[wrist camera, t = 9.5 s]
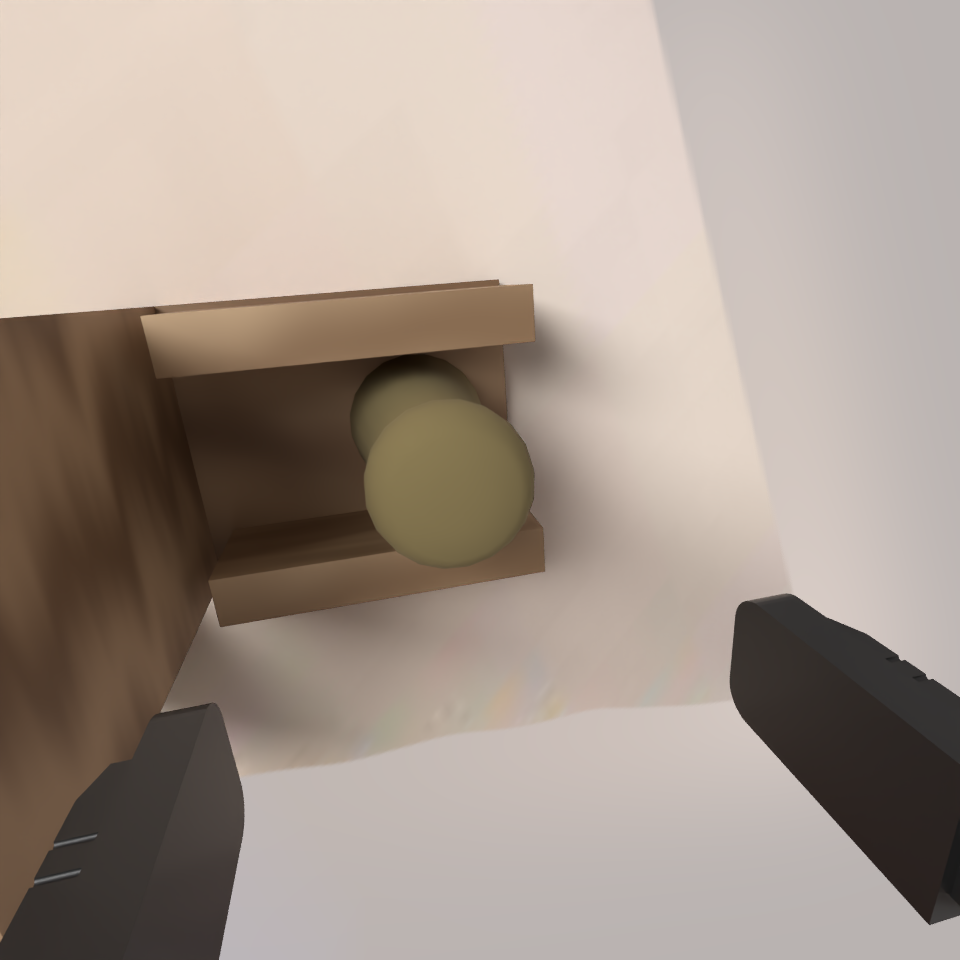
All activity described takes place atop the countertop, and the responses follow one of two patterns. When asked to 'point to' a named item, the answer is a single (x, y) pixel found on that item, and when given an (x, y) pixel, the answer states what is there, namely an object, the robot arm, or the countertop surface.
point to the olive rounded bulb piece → (438, 464)
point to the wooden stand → (194, 505)
